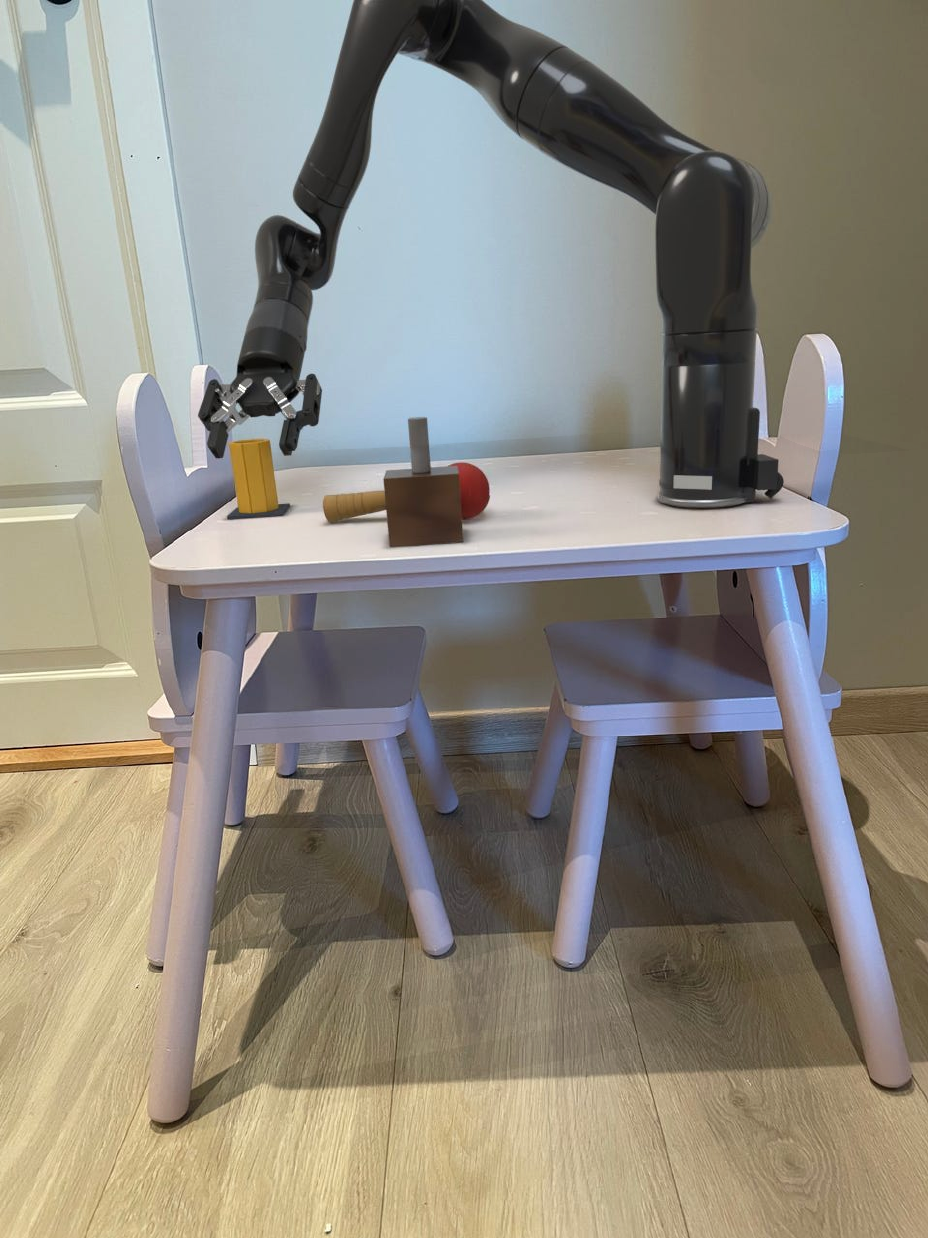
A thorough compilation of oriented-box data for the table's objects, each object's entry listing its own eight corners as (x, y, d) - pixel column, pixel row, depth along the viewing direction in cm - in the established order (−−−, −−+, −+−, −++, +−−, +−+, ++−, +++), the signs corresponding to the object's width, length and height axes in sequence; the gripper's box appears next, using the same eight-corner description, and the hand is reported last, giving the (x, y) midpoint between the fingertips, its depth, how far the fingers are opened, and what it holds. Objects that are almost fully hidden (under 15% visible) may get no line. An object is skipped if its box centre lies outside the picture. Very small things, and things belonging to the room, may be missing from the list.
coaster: (290, 506, 101) (289, 503, 101) (282, 515, 96) (282, 512, 96) (238, 509, 101) (237, 506, 101) (227, 519, 96) (226, 515, 96)
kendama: (319, 543, 87) (486, 516, 83) (308, 483, 86) (476, 452, 82) (344, 539, 94) (499, 513, 90) (334, 483, 93) (489, 455, 89)
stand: (461, 530, 83) (454, 413, 79) (463, 542, 78) (455, 417, 74) (391, 535, 83) (381, 417, 79) (389, 547, 78) (378, 422, 74)
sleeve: (286, 506, 99) (277, 438, 97) (260, 514, 95) (250, 443, 93) (256, 504, 101) (247, 438, 99) (230, 512, 98) (220, 443, 95)
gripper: (208, 328, 101) (178, 435, 94) (319, 320, 98) (297, 429, 91) (233, 371, 107) (207, 474, 100) (338, 364, 105) (318, 470, 98)
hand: (250, 452), depth 96 cm, fingers open, 8 cm apart
